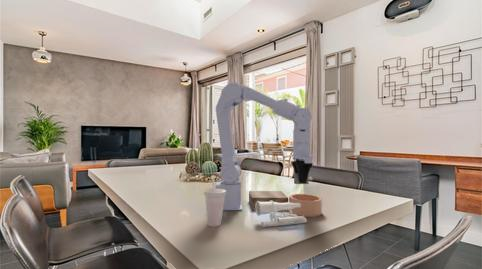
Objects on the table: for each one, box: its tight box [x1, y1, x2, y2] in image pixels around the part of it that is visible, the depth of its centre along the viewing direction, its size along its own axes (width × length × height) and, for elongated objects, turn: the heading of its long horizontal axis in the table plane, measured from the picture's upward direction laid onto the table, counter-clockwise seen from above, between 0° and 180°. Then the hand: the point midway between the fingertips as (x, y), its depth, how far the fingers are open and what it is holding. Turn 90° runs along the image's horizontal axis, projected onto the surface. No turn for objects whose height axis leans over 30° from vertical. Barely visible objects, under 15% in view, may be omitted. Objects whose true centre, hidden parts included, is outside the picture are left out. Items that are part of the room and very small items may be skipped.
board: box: [248, 190, 289, 210], centre depth 92 cm, size 13×11×4 cm
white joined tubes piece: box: [254, 201, 308, 228], centre depth 73 cm, size 8×14×5 cm
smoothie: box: [203, 175, 226, 228], centre depth 70 cm, size 6×6×14 cm
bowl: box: [288, 193, 323, 218], centre depth 84 cm, size 11×11×5 cm
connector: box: [293, 172, 313, 185], centre depth 84 cm, size 6×3×3 cm, turn 94°
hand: (301, 182), depth 84 cm, fingers closed on connector, 3 cm apart
